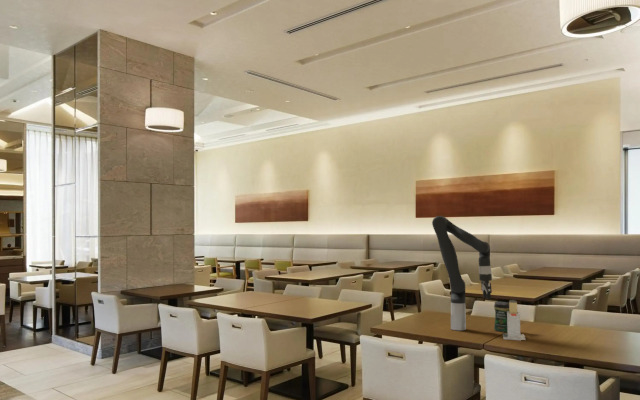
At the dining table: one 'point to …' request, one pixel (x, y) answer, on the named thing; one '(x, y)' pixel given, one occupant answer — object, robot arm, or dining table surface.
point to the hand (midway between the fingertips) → (487, 298)
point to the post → (512, 306)
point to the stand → (513, 327)
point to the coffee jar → (501, 316)
